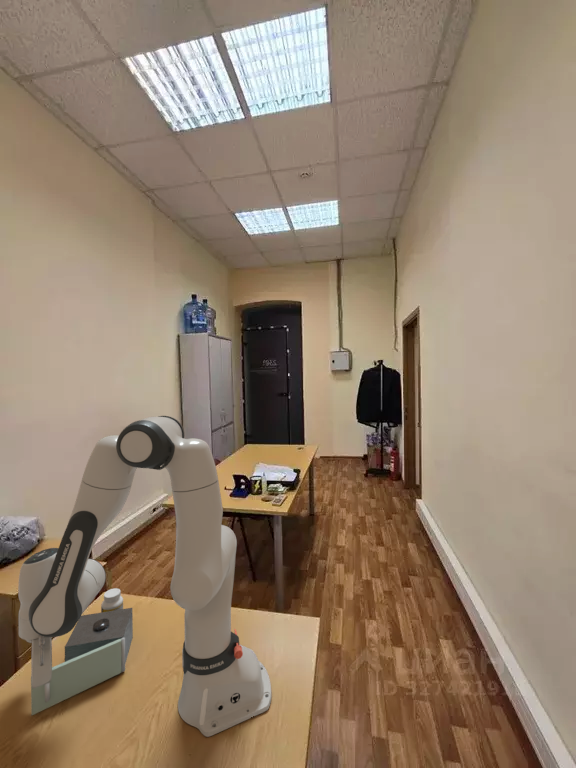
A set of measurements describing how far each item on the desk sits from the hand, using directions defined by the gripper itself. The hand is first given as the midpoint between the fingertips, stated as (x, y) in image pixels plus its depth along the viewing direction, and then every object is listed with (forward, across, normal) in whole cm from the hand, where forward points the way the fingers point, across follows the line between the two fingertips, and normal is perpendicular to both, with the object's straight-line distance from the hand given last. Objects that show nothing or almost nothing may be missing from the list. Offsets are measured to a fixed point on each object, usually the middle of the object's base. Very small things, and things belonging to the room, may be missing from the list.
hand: (42, 676), depth 81 cm
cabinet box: (+7, +7, -13) cm, 17 cm away
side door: (+6, -2, -8) cm, 10 cm away
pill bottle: (+7, +18, -18) cm, 26 cm away
